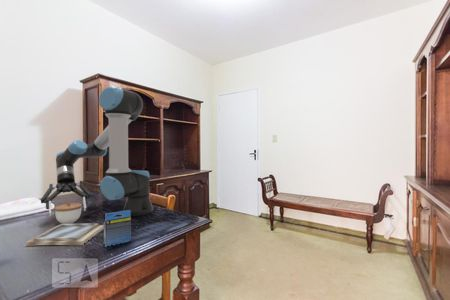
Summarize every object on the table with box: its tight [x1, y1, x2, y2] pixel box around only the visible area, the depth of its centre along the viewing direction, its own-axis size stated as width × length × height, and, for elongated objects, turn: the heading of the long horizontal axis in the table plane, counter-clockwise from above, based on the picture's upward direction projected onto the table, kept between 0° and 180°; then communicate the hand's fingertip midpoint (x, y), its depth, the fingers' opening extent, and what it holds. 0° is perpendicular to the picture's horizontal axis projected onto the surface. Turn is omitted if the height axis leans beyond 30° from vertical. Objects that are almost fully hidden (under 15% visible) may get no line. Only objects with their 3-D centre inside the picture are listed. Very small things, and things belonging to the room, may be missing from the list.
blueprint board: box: [25, 222, 104, 247], centre depth 92 cm, size 20×17×2 cm
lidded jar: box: [54, 202, 83, 225], centre depth 109 cm, size 11×11×9 cm
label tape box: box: [103, 210, 132, 248], centre depth 86 cm, size 9×4×12 cm, turn 126°
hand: (68, 211), depth 108 cm, fingers open, 13 cm apart
